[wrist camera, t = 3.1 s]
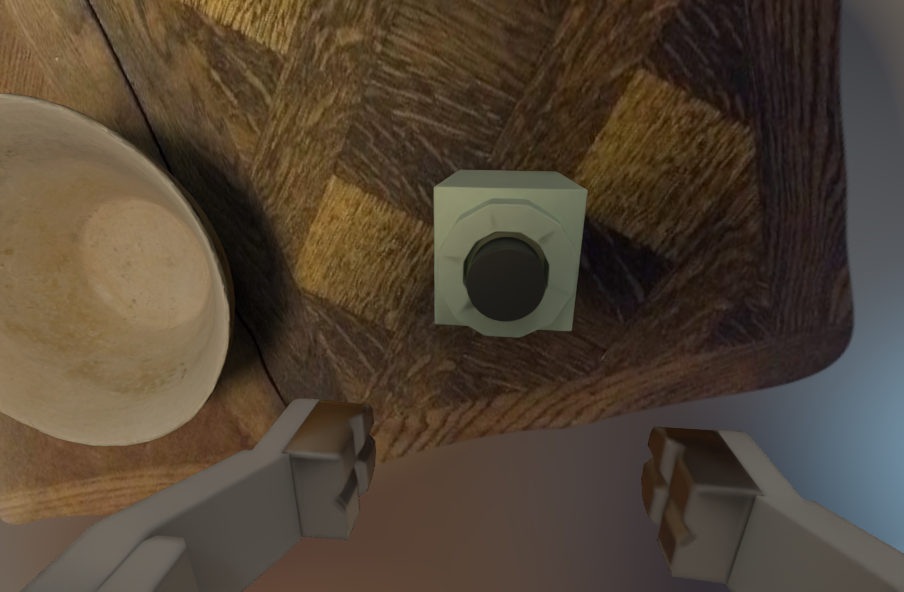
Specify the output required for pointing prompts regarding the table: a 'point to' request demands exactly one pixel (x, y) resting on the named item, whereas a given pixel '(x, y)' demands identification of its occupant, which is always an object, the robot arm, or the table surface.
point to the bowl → (103, 283)
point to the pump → (506, 279)
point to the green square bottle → (508, 215)
